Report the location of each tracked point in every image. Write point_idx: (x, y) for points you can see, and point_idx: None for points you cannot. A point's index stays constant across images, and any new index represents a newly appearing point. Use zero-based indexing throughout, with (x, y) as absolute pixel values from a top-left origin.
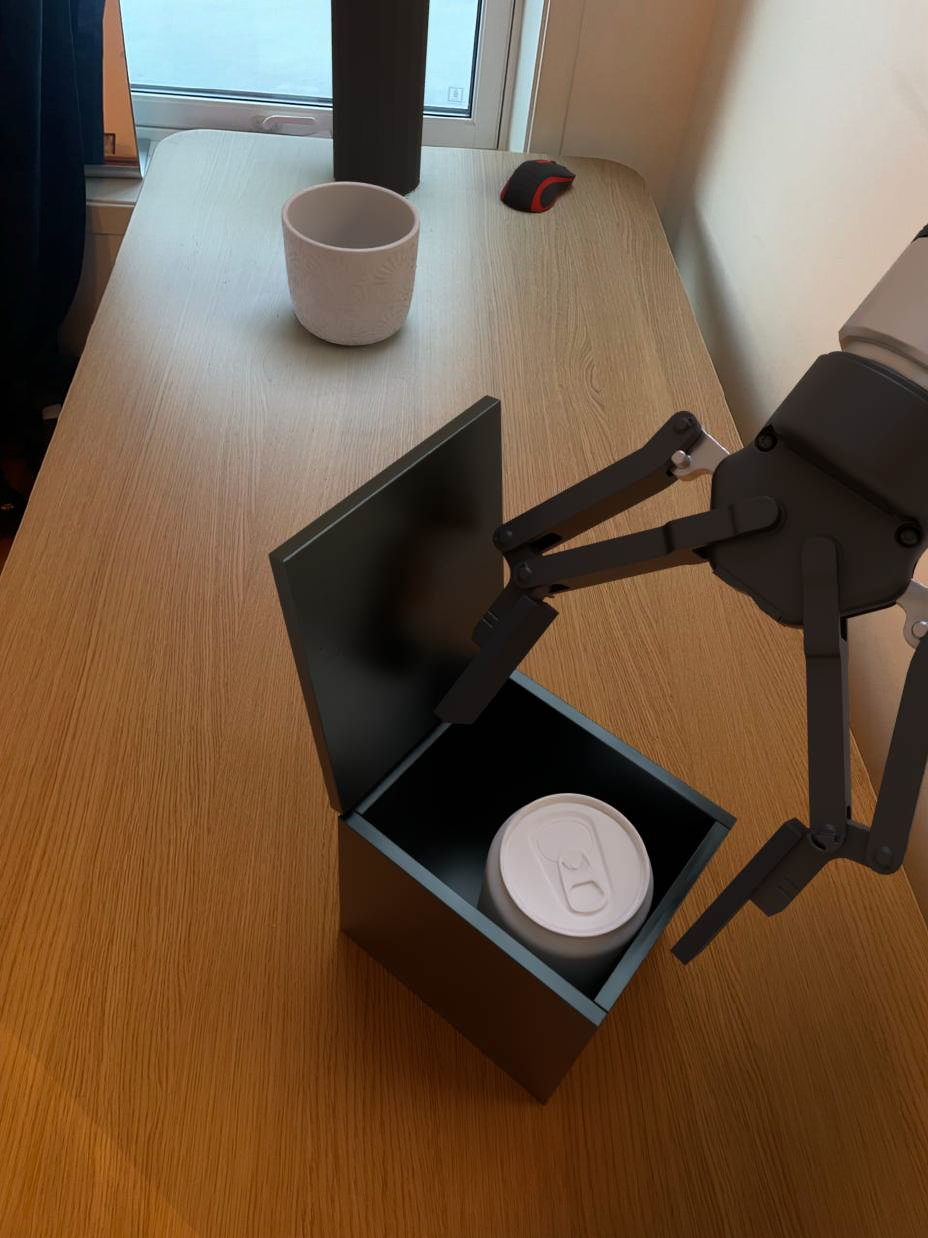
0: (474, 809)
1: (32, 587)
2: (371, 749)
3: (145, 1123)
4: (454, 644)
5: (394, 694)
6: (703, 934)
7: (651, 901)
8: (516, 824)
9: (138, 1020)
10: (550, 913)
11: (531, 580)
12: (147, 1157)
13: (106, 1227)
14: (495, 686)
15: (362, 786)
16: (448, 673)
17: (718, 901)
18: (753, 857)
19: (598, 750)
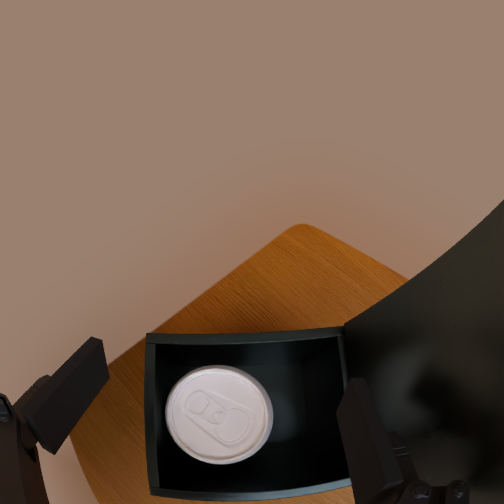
0: (302, 443)
1: None
2: (367, 347)
3: (298, 258)
4: None
5: (392, 370)
6: (81, 350)
7: (168, 429)
8: (264, 413)
9: (330, 276)
10: (208, 380)
11: (409, 494)
12: (288, 252)
13: (280, 234)
14: (346, 435)
15: (351, 340)
16: None
17: (74, 367)
18: (52, 393)
19: (257, 488)
